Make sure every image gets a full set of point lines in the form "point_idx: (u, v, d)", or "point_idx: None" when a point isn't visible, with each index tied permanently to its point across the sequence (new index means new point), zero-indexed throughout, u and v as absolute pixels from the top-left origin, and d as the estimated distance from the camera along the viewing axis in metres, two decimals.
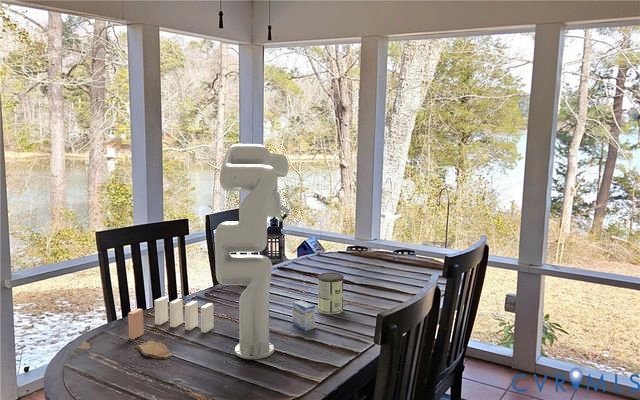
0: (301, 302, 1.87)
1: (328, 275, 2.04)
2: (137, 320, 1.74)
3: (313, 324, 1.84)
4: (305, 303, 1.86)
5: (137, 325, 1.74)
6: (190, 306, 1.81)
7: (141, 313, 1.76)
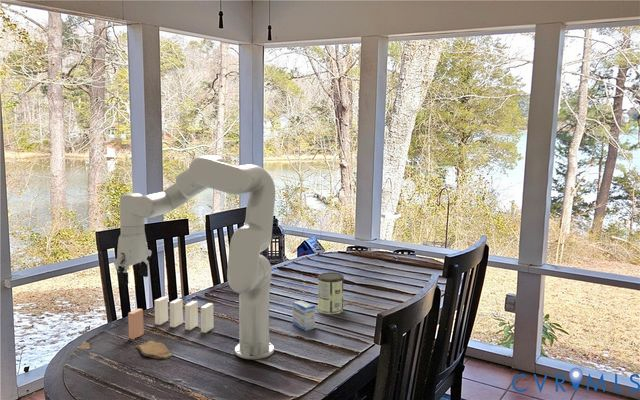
0: (301, 302, 1.87)
1: (328, 275, 2.04)
2: (137, 320, 1.74)
3: (313, 324, 1.84)
4: (305, 303, 1.86)
5: (137, 325, 1.74)
6: (190, 306, 1.81)
7: (141, 313, 1.76)
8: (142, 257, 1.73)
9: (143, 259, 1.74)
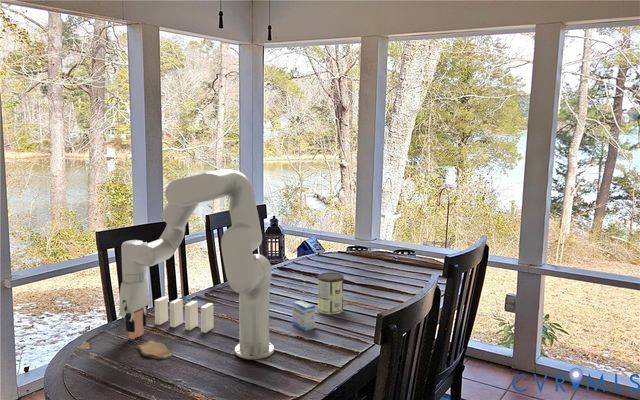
0: (301, 302, 1.87)
1: (328, 275, 2.04)
2: (137, 320, 1.74)
3: (313, 324, 1.84)
4: (305, 303, 1.86)
5: (137, 325, 1.74)
6: (190, 306, 1.81)
7: (141, 313, 1.76)
8: (144, 303, 1.75)
9: (145, 305, 1.76)
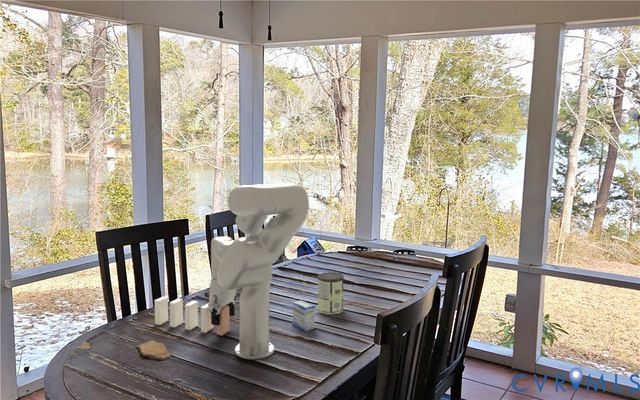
0: (301, 302, 1.87)
1: (328, 275, 2.04)
2: (225, 316, 1.79)
3: (313, 324, 1.84)
4: (305, 303, 1.86)
5: (225, 321, 1.79)
6: (190, 306, 1.81)
7: (227, 309, 1.80)
8: (231, 298, 1.80)
9: (231, 300, 1.80)
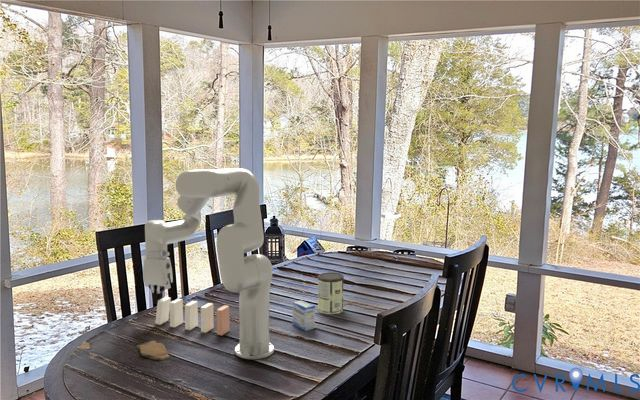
0: (301, 302, 1.87)
1: (328, 275, 2.04)
2: (225, 316, 1.79)
3: (313, 324, 1.84)
4: (305, 303, 1.86)
5: (225, 321, 1.79)
6: (190, 306, 1.81)
7: (227, 309, 1.80)
8: (157, 281, 1.85)
9: (159, 284, 1.85)
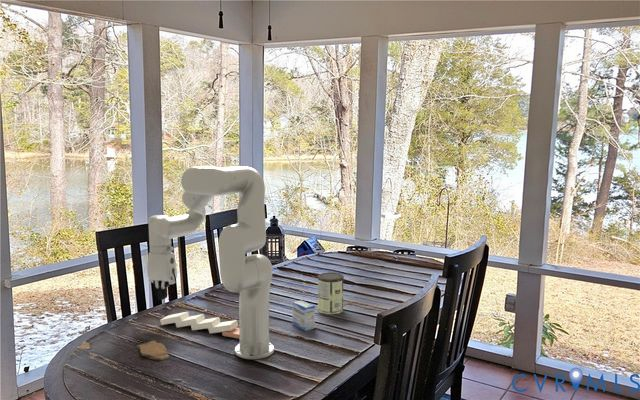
0: (301, 302, 1.87)
1: (328, 275, 2.04)
2: None
3: (313, 324, 1.84)
4: (305, 303, 1.86)
5: None
6: (212, 326, 1.79)
7: None
8: (162, 276, 1.84)
9: (163, 279, 1.84)
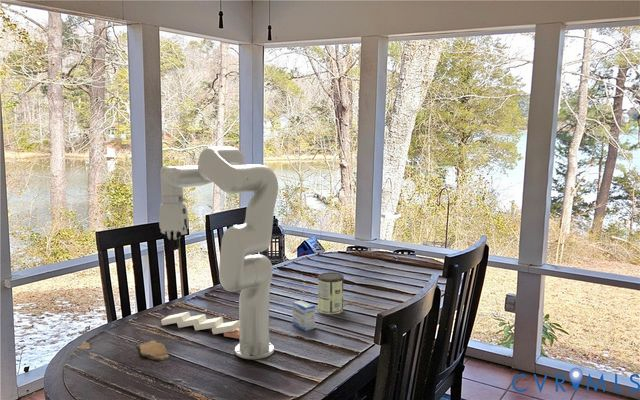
0: (301, 302, 1.87)
1: (328, 275, 2.04)
2: None
3: (313, 324, 1.84)
4: (305, 303, 1.86)
5: None
6: (216, 326, 1.79)
7: None
8: (174, 226, 1.85)
9: (176, 229, 1.85)
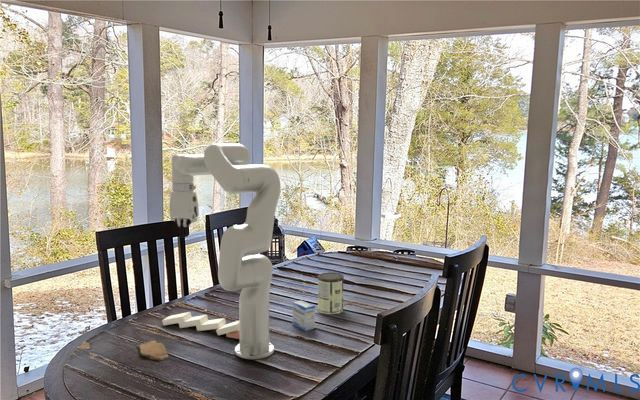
0: (301, 302, 1.87)
1: (328, 275, 2.04)
2: None
3: (313, 324, 1.84)
4: (305, 303, 1.86)
5: None
6: (218, 327, 1.79)
7: None
8: (184, 214, 1.87)
9: (186, 216, 1.87)
